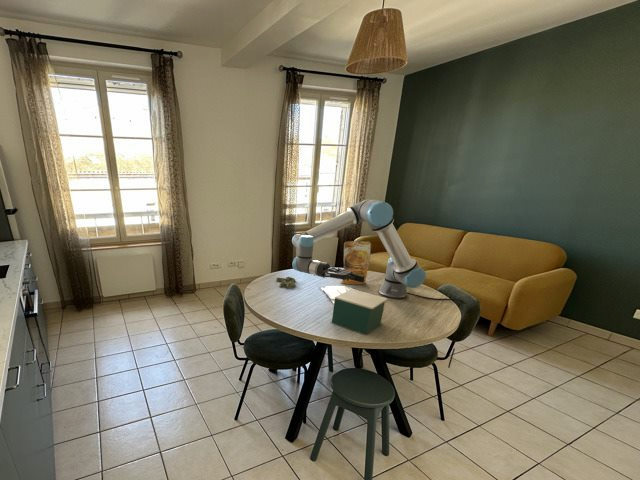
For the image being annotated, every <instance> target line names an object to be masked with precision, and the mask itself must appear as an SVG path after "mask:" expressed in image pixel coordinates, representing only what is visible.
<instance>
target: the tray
mask: <svg viewBox="0 0 640 480" xmlns="http://www.w3.org/2000/svg"><path fill="white" fill-rule="evenodd" d="M320 289H321V291H323V292H325V294H326V295H327V296H328V298H330V301H331V303H333V305H334V301H335V297H336V296H338V295H340V294H342V293H344V292H346V291H348V290H350V289H353V290H356V289H355V288H352V287H351V286H349V287H348V286H347V285H326V286H325V287H320Z"/></svg>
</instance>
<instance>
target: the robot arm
mask: <svg viewBox="0 0 640 480" xmlns="http://www.w3.org/2000/svg"><path fill="white" fill-rule="evenodd" d="M394 221H395V218H394V209H393V207H392V206H391V204H390V203H388V202H386V201H384V200H377V199H372V198H367V199H364V200H362V201H360V202H358V203H356V204H354V205H352V206H349V207H347V209H346V211H344V212H342V213H340V214H338V215H336V216H334V217H332V218H330V219H328V220H326V221H323V222H322V223H321V224H319V225H317V226H314V227H312V228H310V229H308V230H306V231H304V232H302V233H296V234H294V235H293V236H292V239H291V243H292V245H293V247H294V248H296V249H297V256H296V257H294V258H293V260H292V264H291V265H292V269H293V270H294V271H296V272H299V273H304V274H308V275H311V276H313V277H315V276H317V277H320V278H332V279H336V280H342V281H343V280H346V279H347V281H349V279H350V280H354V281H358V282H364V277H365V276H361V275H357V274H353V272H351V271H348V270H344V268H342V267H337V268H336V267H333V266H331V265H330V264H329V262H324V261H319V260H315V259H313V253H314V244H315V243H316V242H318V241H320V240H322V239H324V238H326V237H328V236H330V235H332V234H334V233H336V232H338V231H340V230H343V229H345V228H346V227H349V226H350V225H357V224H358V223H359V224H360V223H362V222H365V223H367V224H368V226H369V229H371V231H372V232H374V233H376V234H377V236H378V237H379V239H380V242H381V243H382V245H383V247H384V248H385V251H386V252H387V254H388V255H389V258H388V259H387V260H388V261H387V263H386V269H385V276H384V281H383V282H382V284H381V286H380V287H379V291H378V294H379V295H381V296H382V297H384V298H389V299H404V298H405V299H406V297H407V295H410V296H414V297H418V298H422V299H425V300H426V299H427V300H432V301H433V300H434V301H459V302H461V303H462V304H464V303H465V301H464V300H462V299H460V298H436V297H430V296H429V297H428V296H423V295H419V294H415V293H411V292H407V287H408V288H410V289H415V288H418V287H420V286H421V285H422V284H423V283H424V282H425V280H426V278H427V273H426V271H425V269H423V268H421V267H420V265H419V264H418V262H417V260H416V258H413V257H411V256H410V254H409V252H408V250H407V248H406V246H405V244H404V243H403V240H402V238H401V236H400V234H399V233H398V231H397V229H396V227H395V225H394V224H393V223H394ZM455 350H456V348H453V349H452V352H451V355H450V359H449V362H448V365H447V368H448V369H450V368H451V365H452V360H453V357H454V353H455Z"/></svg>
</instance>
